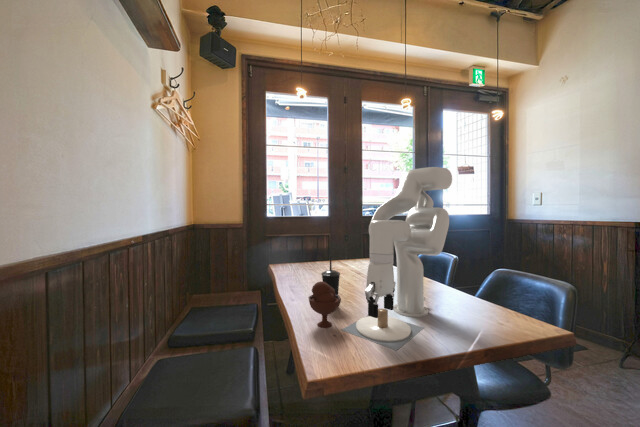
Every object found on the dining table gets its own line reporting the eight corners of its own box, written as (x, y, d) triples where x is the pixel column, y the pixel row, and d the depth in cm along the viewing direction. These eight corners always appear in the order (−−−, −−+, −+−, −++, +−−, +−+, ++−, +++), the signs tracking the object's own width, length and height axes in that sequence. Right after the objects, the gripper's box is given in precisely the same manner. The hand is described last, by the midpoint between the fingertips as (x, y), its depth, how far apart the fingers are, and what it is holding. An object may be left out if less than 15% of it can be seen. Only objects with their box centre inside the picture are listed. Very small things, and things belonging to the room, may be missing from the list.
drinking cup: (322, 303, 108) (322, 255, 108) (340, 304, 107) (340, 256, 107) (320, 310, 100) (320, 259, 101) (340, 310, 100) (339, 259, 100)
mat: (372, 314, 96) (372, 312, 96) (424, 329, 83) (424, 327, 83) (341, 331, 82) (341, 329, 82) (396, 352, 69) (396, 350, 69)
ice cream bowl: (339, 334, 80) (338, 286, 80) (304, 331, 82) (304, 284, 82) (343, 320, 90) (342, 277, 90) (312, 318, 92) (311, 276, 92)
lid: (373, 314, 94) (373, 298, 94) (419, 327, 83) (419, 309, 83) (345, 329, 82) (345, 311, 82) (395, 347, 70) (395, 326, 70)
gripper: (384, 255, 91) (384, 304, 91) (356, 260, 79) (355, 316, 78) (404, 257, 86) (404, 309, 86) (377, 262, 74) (377, 323, 73)
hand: (381, 312), depth 82 cm, fingers open, 9 cm apart
